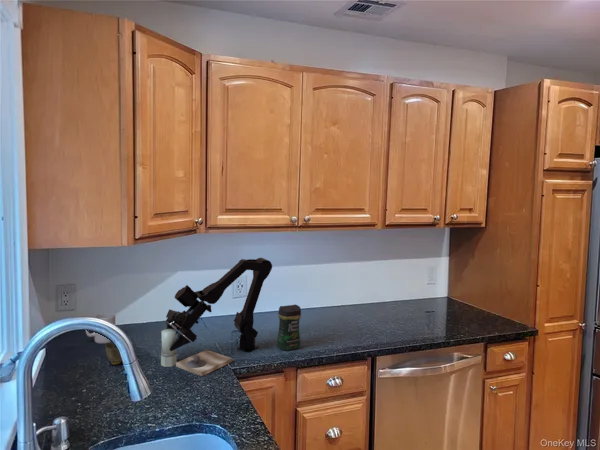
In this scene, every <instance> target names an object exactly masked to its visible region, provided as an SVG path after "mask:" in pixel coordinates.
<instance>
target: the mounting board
mask: <svg viewBox="0 0 600 450" xmlns="http://www.w3.org/2000/svg"><path fill="white" fill-rule="evenodd" d="M232 362H233V358H232V357H230V356H226V355H224V354H220V353H218V352H214V351H211V350H208V349H205V350H203V351H200V352H199V353H198V352H197V353H196V354H193V355H191V356H188V357H186V358H184V359H182V360H179V361H177V362H176V365H175V367H176V368H179V369H182V370H184V371H187V372H190V373H192V374H194V375H197V376H200V377H204V376H205V375H208V374H210V373H212V372H214V371H216V370H218V369H221V368H222V367H224V366H226V365H228V364H231V363H232Z"/></svg>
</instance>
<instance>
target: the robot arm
mask: <svg viewBox="0 0 600 450" xmlns="http://www.w3.org/2000/svg"><path fill="white" fill-rule="evenodd" d="M272 269H273V263H272V262H271V261H270V260H268V259H266V258H264V257H258V258H256V259H253V258H252V259H251V258H250V259H249V258H248V259H244V258H242V259H240V260H238V262H237V263H236V264H235V265H234V266H233V267H232V268H230V269H229V270H228V271H227V272H226V273H225V274H224V275H223V276H221V278H219V279H218V280H216V281H215V282H213V283H210V284H208V285H207V286H206V287H204V288H203V289H201V290H198V291H194V290H193V289H192V288H191V287H190V286H189V285H188V284H186V285H185V286H184V287H181V288H180V289H178V291H176V293H175V294H174V299H175V300H176V301H178V302H179V303H180V304H181V305H182V306H184V308H188V309H187V310H183V311H177V310H173V309H168V312H167V313H166V315H165V317H166V319H165V321H166V322H165V324H166V329H175V330H176V335H177V336H176V340H175V341H174V343H173V344H172V346H171V347H170V349H169V350H170V351H173V350H175V349H176V350H177V349H179V348H181V347H183V346H185V345H187V344H191V343H194V342H195V341H196V340H197V337H198V336H197V334H196V333H195V332H193V330H192V328H193V327H194V325H195V324H196V325H198V324H199V319H200V318H201V317H202V316H203V314H205V312H206V311H207V312H209V313H212V305H215V304H216V303H217V302H218V301H219V300H220V298H222V296H223V294H224V292H225V291H226V289H227V288H228V287H230V286H231V285H233V283H234V282H235V281H236V280H238V279H239V278H240V276H242V275H243V274H244V273H245V272H246V271H252V276H253V277H252V280H251V283H250V286H249V290H248V292H247V296H246V299H245V300H244V301H245V302H244V304H243V306H242V307H243V308H242V310H241V311H240V312H239V311H236V313H235V317H234V319H233V322H234V324H233V325H234V327H235V329H237V331H238V333H240V335H239V346H237V347H236V349H237V350H239V351H243V352H245V353H250V352H252V351H254V350H256V349H258V348H259V347H258V345H256V338H257V336H258V333H259V332H258V331H257V330H256V329H255V328H254V322H255V321H254V312H255V309H256V305H257V303H258V299H259V296H260V293H261V291H262V287H263V283H264V281H265V280H266V279H267V278H268V277H269V276H270V273H271V271H272ZM160 343H161V344H162V339H161V341H160Z"/></svg>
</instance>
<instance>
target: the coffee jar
mask: <svg viewBox="0 0 600 450" xmlns="http://www.w3.org/2000/svg"><path fill="white" fill-rule="evenodd" d="M301 311H302V310H301V307H300V305H297V304H290V305H289V304H288V305H281V306H279V308H278V311H277V314H278V318H279V327H278V332H277V333H278V334H277V340H276V341H277V342H276V346H277V347H278V349H279V350H282V351H292V350H297V349H299V348H300V346H301V336H300V321H301V316H302V312H301Z"/></svg>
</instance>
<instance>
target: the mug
mask: <svg viewBox="0 0 600 450" xmlns="http://www.w3.org/2000/svg"><path fill="white" fill-rule="evenodd" d="M94 317H96V318H100V319H103V320H106V321H108V322H111V323H113V324H115V325H116V314H115V313H114V312H113V313H112V312H101V313H98V314H95V315H94ZM85 334H86V336H87V337H88V338H94V339H93V340H94V342H95V343H96V344H106V343H108V342H109V343H112V342H111V341H110V340H109V339H107V338H106V337H104V336H102V335H100V334H98V333H95V332H94V331H93V332H92V333H90V331H89V330H88V331H87V330H86V329H85Z"/></svg>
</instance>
